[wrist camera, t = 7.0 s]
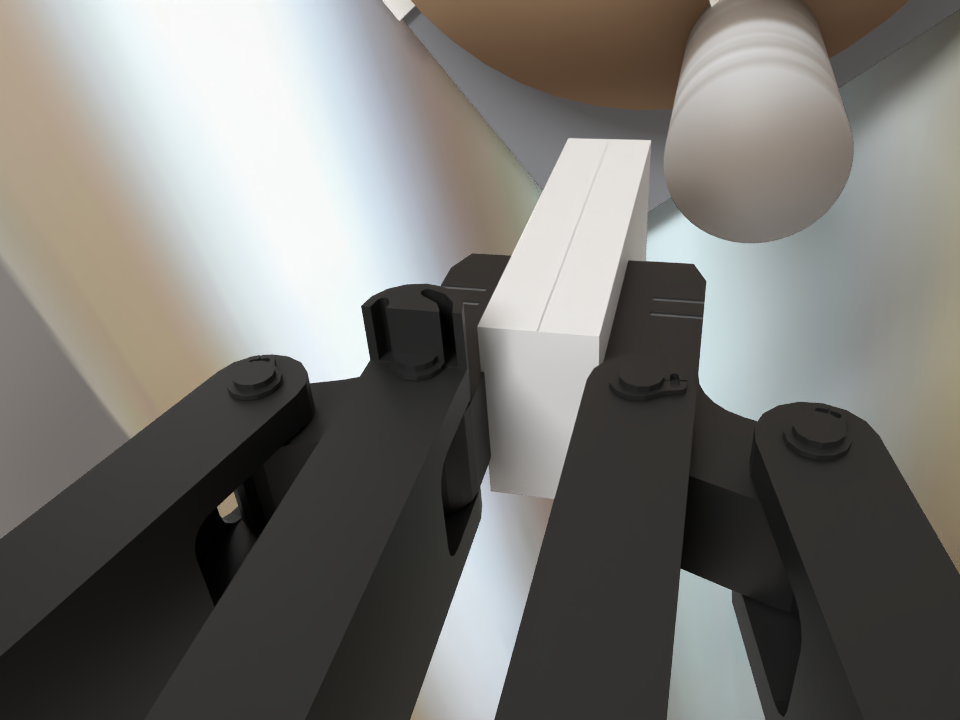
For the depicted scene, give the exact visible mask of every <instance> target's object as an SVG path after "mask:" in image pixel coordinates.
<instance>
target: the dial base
mask: <svg viewBox="0 0 960 720" xmlns="http://www.w3.org/2000/svg"><path fill="white" fill-rule="evenodd" d="M382 1H383V2H384V3H385V4H386V5H387V7H388V8H389V9H390V10H391V12H392V13H393V14H394V15H395V16H396V18H397V19H398V20H399V21H400V20H401V19H403V20H404V22H405V23H406V24H407V25H408V27H409V28H410V29H411V30H412V31H413V33H414V34H415V35H416V36H417V37H418V39H419V40H420V41H421V42H422V44H423V45H424V46H425V47H426V48H427V50H428V51H429V52H430V53H431V55H432V56H433V57H434V58H435V59H436V61H437V62H438V63H439V64H440V66H441V67H442V68H443V69H444V70H445V72H446V73H447V74H448V75H449V77H450V78H451V79H452V80H453V81H454V83H455V84H456V85H457V86H458V87H459V89H460V90H461V91H462V92H463V94H464V95H465V96H466V97H467V98H468V100H469V101H470V102H471V103H472V105H473V106H474V107H475V108H476V109H477V111H478V112H479V113H480V114H481V116H482V117H483V118H484V119H485V120H486V122H487V123H488V124H489V125H490V127H491V128H492V129H493V130H494V131H495V133H496V134H497V135H498V136H499V137H500V139H501V140H502V141H503V142H504V144H505V145H506V146H507V147H508V148H509V150H510V151H511V152H512V153H513V155H514V156H515V157H516V158H517V159H518V161H519V162H520V163H521V164H522V166H523V167H524V168H525V169H526V170H527V172H528V173H529V174H530V175H531V177H532V178H533V179H534V180H535V181H536V183H537V184H538V185H539V186H540V187H541V189H542V190H544V188H545V186H546V184H547V181H548V179H549V177H550V175H551V173H552V171H553V169H554V167H555V165H556V163H557V161H558V159H559V157H560V155H561V152H562V150H563V148H564V146H565V144H566V142H567V140H568V138H580V139H624V140H651V155H650V177H649V199H648V212H649V211H651V210H652V209H654V208H656V207H657V206H659V205H660V204H662V203H663V202H665V201H666V200H668V199H669V198H671V195H670V193H669V190H668V188H667V184H666V180H665V175H664V152H665V145H666V140H667V135H668V130H669V126H670V121H671V116H672V111H673V109H654V110H630V109H621V108H611V107H601V106H594V105H589V104H585V103H581V102H577V101H572V100H568V99H564V98H560V97H556V96H553V95H551V94H548V93H545V92H543V91H540V90H538V89H535V88H532V87H530V86H527V85H524V84H522V83H519V82H517V81H516V80H514V79H512V78H510V77H508V76H506V75H504V74H503V73H501V72H499V71H497V70H495V69H493V68H491V67H489V66H488V65H486V64H484V63H483V62H481V61H480V60H478V59H477V58H476V57H474V56H473V55H471V54H470V53H469V52H467V51H466V50H464V49H463V48H462V47H460V46H459V45H457V44H456V43H455V42H453V41H452V40H451V39H450V38H449V37H447V36H446V35H445V34H444V33H443V32H442V31H441V30H440V29H439V28H438V27H437V26H435V25H434V24H433V23H432V22H431V21H430V20H429V19H428V18H427V17H426V16H425V15H423V14H422V13H421V12H420V10H419V9H418V8H417V7H416V6H415V5H414V3H413V2H412V1H411V0H382ZM959 9H960V0H909V1H908V2H907V3H906V4H905V5H904V6H903V7H901V8H900V9H899V10H898V11H897V12H896V13H895V14H894V15H892V16H891V17H890V18H889V19H888V20H886V21H885V22H883V23H882V24H881V25H879V26H878V27H876V28H875V29H874V30H872V31H871V32H869V33H868V34H867V35H865V36H864V37H862V38H861V39H860V40H858V41H857V42H855V43H854V44H853V45H851V46H850V47H848V48H847V49H845V50H843V51H842V52H840V53H838V54H836V55H834V56H833V57H831V58H829V60H830V64H831V67H832V70H833V73H834V77H835V80H836V83H837V86H838V88H839V87H841V86H842V85H844V84H846V83H847V82H849V81H850V80H852V79H853V78H855V77H856V76H858V75H859V74H861V73H862V72H864V71H865V70H867V69H869V68H870V67H872V66H873V65H875V64H876V63H878V62H879V61H881V60H882V59H884V58H885V57H887V56H888V55H890V54H892V53H893V52H895V51H896V50H898V49H899V48H901V47H902V46H904V45H905V44H907V43H908V42H910V41H911V40H913V39H914V38H916V37H918V36H919V35H921V34H922V33H924V32H925V31H927V30H928V29H930V28H931V27H933V26H934V25H936V24H937V23H939V22H941V21H942V20H944V19H945V18H947V17H948V16H950V15H951V14H953V13H954V12H956V11H957V10H959Z"/></svg>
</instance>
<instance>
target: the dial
mask: <svg viewBox="0 0 960 720" xmlns="http://www.w3.org/2000/svg"><path fill="white" fill-rule="evenodd" d="M411 1H412V2H413V3H414V5H415V6H416V7H417V8H418V9H419V10H420V12H421V13H422V14H423V15H425V16H426V17H427V18H428V19H429V20H430V21H431V22H432V23H433V24H434V25H435V26H437V27H438V28H439V29H440V30H441V31H442V32H443V33H444V34H445V35H446V36H447V37H449V38H450V39H451V40H452V41H453V42H455V43H456V44H457V45H459V46H460V47H462V48H463V49H464V50H466V51H467V52H469V53H470V54H471V55H473V56H474V57H476V58H477V59H478V60H480V61H481V62H483V63H484V64H486V65H488V66H489V67H491V68H493V69H495V70H497V71H499V72H501V73H503V74H504V75H506V76H508V77H510V78H512V79H514V80H516V81H517V82H519V83H522V84H524V85H527V86H530V87H532V88H535V89H538V90H540V91H543V92H545V93H548V94H551V95H553V96H556V97H560V98H564V99H568V100H572V101H577V102H581V103H585V104H589V105H594V106H601V107H611V108H621V109H630V110H654V109H673V111H672V116H671V121H670V126H669V130H668V135H667V140H666V145H665V152H664V175H665V180H666V184H667V188H668V190H669V193H670V195H671V197H672V199H673V201H674V203H675V204H676V206H677V208H678V209H679V210H680V211H681V212H682V214H683V215H684V216H685V217H686V218H687V219H688V220H689V221H690V222H691V223H693V224H694V225H695V226H697V227H698V228H700V229H701V230H703V231H705V232H707V233H708V234H710V235H713V236H715V237H718V238H721V239H724V240H728V241H732V242H740V243H762V242H769V241H774V240H779V239H782V238H785V237H788V236H791V235H793V234H795V233H797V232H799V231H801V230H803V229H805V228H806V227H808V226H809V225H811V224H813V223H814V222H815V221H816V220H818V219H819V218H820V217H821V216H822V215H824V214H825V213H826V212H827V211H828V210H829V209H830V207H831V206H832V205H833V204H834V202H835V201H836V200H837V199H838V197H839V195H840V194H841V192H842V190H843V189H844V187H845V184H846V182H847V180H848V177H849V174H850V171H851V167H852V161H853V138H852V131H851V128H850V125H849V122H848V118H847V115H846V112H845V109H844V105H843V102H842V99H841V96H840V93H839V89H838V86H837V83H836V80H835V77H834V73H833V70H832V67H831V64H830V60H829V58H831V57H833V56H834V55H836V54H838V53H840V52H842V51H843V50H845V49H847V48H848V47H850V46H851V45H853V44H854V43H855V42H857V41H858V40H860V39H861V38H862V37H864V36H865V35H867V34H868V33H869V32H871V31H872V30H874V29H875V28H876V27H878V26H879V25H881V24H882V23H883V22H885V21H886V20H888V19H889V18H890V17H891V16H892V15H894V14H895V13H896V12H897V11H898V10H899V9H900V8H901V7H903V6H904V5H905V4H906V3H907V2H908V1H909V0H411Z"/></svg>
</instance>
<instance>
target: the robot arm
mask: <svg viewBox="0 0 960 720" xmlns="http://www.w3.org/2000/svg"><path fill="white" fill-rule="evenodd" d="M650 155H651V140H624V139H580V138H568V140H567V142H566V144H565V146H564V148H563V150H562V152H561V155H560V157H559V159H558V161H557V163H556V165H555V167H554V169H553V171H552V173H551V175H550V177H549V179H548V181H547V184H546V186H545V188H544V190H543V192H542V194H541V196H540V198H539V200H538V202H537V204H536V206H535V208H534V210H533V212H532V215H531V217H530V219H529V221H528V223H527V225H526V227H525V229H524V231H523V233H522V235H521V237H520V239H519V241H518V243H517V246H516V248H515V250H514V252H513V254H512V256H506V255H489V254H471V255H469V256H468V257H466V258H465V259H463V260H462V261H460V262H459V263H458V264H456V265H455V266H453V267H452V268H451V269H450V271H449V272H448V274H447V276H446V277H445V279H444V281H443V283H442V284H441V286H436V285H430V284H407V285H403V286H398V287H394V288H389V289H387V290H384V291H382V292H380V293H378V294H376V295H374V296H372V297H371V298H370V299H368V300H367V301H366V302H365V303H364V304H363V305H362V306H361V308H362V313H363V319H364V325H365V331H366V337H367V343H368V349H369V354H370V362H369V363H368V365H367V366H366V368H365V369H364V371H363V373H362V374H361V376H360V377H357V378H351V379H346V380H338V381H329V382H320V383H309V378H308V374H307V371H306V369H305V368H304V366H303V365H302V363H301V362H299V361H297V360H294V359H292V358H290V357H288V356H279V355H262V356H260V355H258V356H252V357H249V358H247V359H243V360H240V361H237V362H234V363H232V364H230V365H229V366H227V367H225V368H224V369H222V370H220V371H218V372H217V373H216V374H214V375H213V376H212V377H210V378H209V379H208V380H207V381H205V382H204V383H203V384H201V385H200V386H199V387H197V388H196V389H195V390H194V391H192V392H191V393H190V394H188V395H187V396H186V397H184V398H183V399H182V400H181V401H179V402H178V403H177V404H175V405H174V406H173V407H171V408H170V409H169V410H168V411H166V412H165V413H164V414H162V415H161V416H160V417H158V418H157V419H156V420H155V421H153V422H152V423H151V424H149V425H148V426H147V427H145V428H144V429H143V430H142V431H140V432H139V433H138V434H136V435H135V436H134V437H133V438H131V439H130V440H129V441H127V442H126V443H125V444H123V445H122V446H121V447H120V448H118V449H117V450H116V451H114V452H113V453H112V454H110V455H109V456H108V457H107V458H105V459H104V460H103V461H101V462H100V463H99V464H97V465H96V466H95V467H94V468H92V469H91V470H90V471H88V472H87V473H86V474H84V475H83V476H82V477H81V478H79V479H78V480H77V481H76V482H74V483H73V484H71V485H70V486H69V487H68V488H66V489H65V490H64V491H62V492H61V493H60V494H58V495H57V496H56V497H55V498H53V499H52V500H51V501H50V502H48V503H47V504H45V505H44V506H43V507H42V508H40V509H39V510H38V511H36V512H35V513H34V514H33V515H31V516H30V517H29V518H27V519H26V520H25V521H23V522H22V523H21V524H20V525H18V526H17V527H16V528H14V529H13V530H12V531H10V532H9V533H8V534H7V535H5V536H4V537H3V538H1V539H0V720H410V718H411V715H412V712H413V710H414V707H415V704H416V701H417V698H418V695H419V693H420V690H421V687H422V684H423V681H424V678H425V676H426V673H427V670H428V667H429V664H430V661H431V659H432V656H433V653H434V650H435V647H436V644H437V642H438V639H439V636H440V633H441V630H442V627H443V624H444V622H445V619H446V616H447V613H448V610H449V607H450V605H451V602H452V599H453V596H454V593H455V590H456V588H457V585H458V582H459V579H460V576H461V573H462V571H463V568H464V565H465V562H466V559H467V556H468V554H469V551H470V548H471V545H472V542H473V539H474V537H475V534H476V531H477V528H478V525H479V522H480V520H481V512H482V500H481V489H480V485H481V483H482V480H483V477H484V475H485V472H486V469H487V467H488V464H489V474H490V486H491V491H494V492H502V493H510V494H518V495H525V496H533V497H541V498H549V499H554V502H553V506H552V509H551V513H550V517H549V520H548V524H547V528H546V532H545V535H544V539H543V543H542V546H541V550H540V554H539V557H538V561H537V565H536V568H535V572H534V576H533V579H532V583H531V587H530V591H529V594H528V598H527V602H526V605H525V609H524V613H523V616H522V620H521V624H520V627H519V631H518V635H517V638H516V642H515V646H514V650H513V653H512V657H511V661H510V664H509V668H508V672H507V675H506V679H505V683H504V686H503V690H502V694H501V697H500V701H499V705H498V709H497V712H496V716H495V720H667V709H668V698H669V687H670V677H671V666H672V655H673V644H674V633H675V622H676V612H677V601H678V590H679V579H680V568H681V569H683V570H685V571H688V572H690V573H693V574H695V575H697V576H700V577H702V578H704V579H707V580H709V581H712V582H714V583H716V584H719V585H721V586H723V587H726V588H728V589H731V590H732V603H733V606H734V610H735V613H736V617H737V620H738V624H739V628H740V631H741V635H742V638H743V642H744V645H745V649H746V652H747V656H748V659H749V663H750V666H751V670H752V673H753V677H754V680H755V684H756V687H757V691H758V695H759V698H760V702H761V705H762V709H763V712H764V716H765V719H766V720H960V575H959V573H958V571H957V569H956V568H955V566H954V564H953V562H952V561H951V559H950V557H949V556H948V554H947V552H946V550H945V549H944V547H943V545H942V543H941V542H940V540H939V538H938V537H937V535H936V533H935V531H934V530H933V528H932V526H931V524H930V523H929V521H928V519H927V518H926V516H925V514H924V512H923V511H922V509H921V507H920V505H919V504H918V502H917V500H916V499H915V497H914V495H913V493H912V492H911V490H910V488H909V486H908V485H907V483H906V481H905V480H904V478H903V476H902V474H901V473H900V471H899V469H898V467H897V466H896V464H895V462H894V461H893V459H892V457H891V455H890V454H889V452H888V450H887V448H886V447H885V445H884V443H883V442H882V440H881V438H880V436H879V435H878V434H877V433H876V432H875V431H874V430H873V429H872V427H871V426H870V425H869V424H868V423H867V422H866V421H864V420H862V419H861V418H859V417H857V416H855V415H854V414H852V413H850V412H849V411H847V410H844V409H840V408H837V407H833V406H830V405H826V404H822V403H808V402H796V403H790V404H784V405H778V406H777V407H775V408H773V409H771V410H769V411H767V412H765V413H764V414H762V416H761V417H760V419H759V420H758V422H757V421H754V420H751V419H748V418H744V417H742V416H739V415H737V414H734V413H732V412H729V411H727V410H725V409H724V408H722V407H720V406H719V405H717V404H715V403H714V402H713V401H712V400H711V399H710V398H709V397H708V396H707V395H706V394H705V393H704V391H703V390H702V388H701V386H700V384H699V378H698V370H699V358H700V347H701V335H702V324H703V313H704V301H705V290H706V280H705V279H704V278H703V276H702V275H701V273H700V272H699V271H698V269H697V268H696V267H695V265H694V264H684V263H667V262H650V261H646V243H647V221H648V199H649V177H650ZM233 491H234V494H235V497H236V500H237V503H238V507H237V508H236V509H235V510H234V511H233V512H231V513H230V514H228V515H227V516H225V517H224V518H221V517H220V515H219V512H218V509H217V506H218V505H220V504H221V503H222V502H223V501H224V500H225V499H226V498H227V497H228V496H229V495H230V494H231V493H232V492H233Z"/></svg>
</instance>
